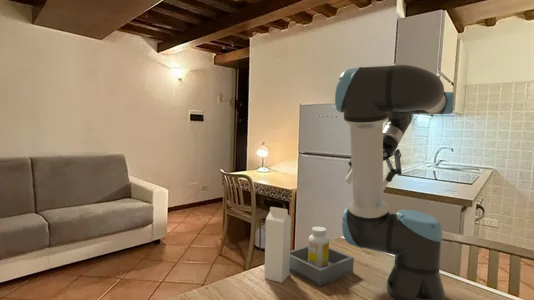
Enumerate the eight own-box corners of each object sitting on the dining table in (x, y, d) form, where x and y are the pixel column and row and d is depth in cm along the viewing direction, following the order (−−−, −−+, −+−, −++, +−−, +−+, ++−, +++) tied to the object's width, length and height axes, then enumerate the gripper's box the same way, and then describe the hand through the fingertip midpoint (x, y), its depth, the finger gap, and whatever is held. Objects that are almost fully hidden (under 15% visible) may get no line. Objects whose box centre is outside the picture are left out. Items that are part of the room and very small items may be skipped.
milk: (272, 270, 106) (274, 204, 104) (289, 275, 104) (291, 207, 102) (264, 278, 101) (265, 208, 99) (282, 283, 98) (283, 211, 96)
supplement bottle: (327, 262, 111) (328, 226, 109) (328, 271, 104) (330, 232, 103) (307, 261, 111) (308, 224, 110) (307, 270, 105) (309, 231, 104)
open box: (353, 272, 106) (353, 257, 106) (319, 287, 96) (320, 270, 96) (316, 255, 119) (317, 242, 118) (283, 267, 109) (284, 252, 108)
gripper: (425, 150, 114) (401, 198, 106) (363, 145, 133) (338, 185, 125) (419, 135, 110) (394, 183, 102) (356, 132, 129) (330, 172, 121)
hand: (363, 184), depth 113 cm, fingers open, 13 cm apart
